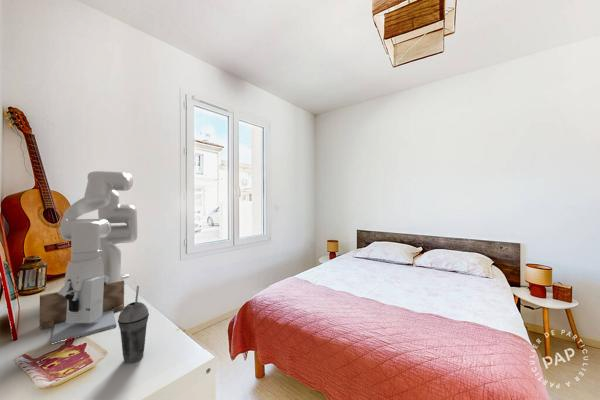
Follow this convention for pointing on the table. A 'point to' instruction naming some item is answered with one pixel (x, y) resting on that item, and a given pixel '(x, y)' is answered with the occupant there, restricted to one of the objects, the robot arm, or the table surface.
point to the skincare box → (88, 302)
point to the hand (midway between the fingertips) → (85, 306)
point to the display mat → (83, 327)
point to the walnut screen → (56, 305)
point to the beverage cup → (133, 330)
